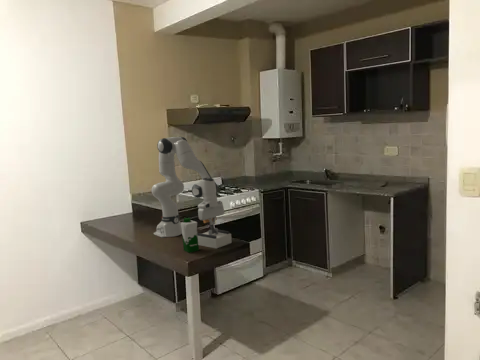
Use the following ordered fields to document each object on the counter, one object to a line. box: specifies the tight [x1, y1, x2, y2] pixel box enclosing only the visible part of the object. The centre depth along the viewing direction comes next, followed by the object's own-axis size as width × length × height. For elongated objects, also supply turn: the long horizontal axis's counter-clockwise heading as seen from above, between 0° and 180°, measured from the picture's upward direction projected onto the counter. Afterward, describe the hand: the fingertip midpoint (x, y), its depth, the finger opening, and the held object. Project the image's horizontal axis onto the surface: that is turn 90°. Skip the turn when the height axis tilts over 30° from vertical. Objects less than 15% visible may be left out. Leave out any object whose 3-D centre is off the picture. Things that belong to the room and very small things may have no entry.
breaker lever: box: [202, 217, 218, 234], centre depth 258 cm, size 2×10×10 cm, turn 138°
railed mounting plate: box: [197, 229, 231, 239], centre depth 258 cm, size 16×13×1 cm
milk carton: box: [180, 217, 200, 254], centre depth 246 cm, size 9×9×20 cm
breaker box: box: [198, 227, 233, 250], centre depth 259 cm, size 18×14×10 cm
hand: (212, 224), depth 257 cm, fingers closed, pressing on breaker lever
